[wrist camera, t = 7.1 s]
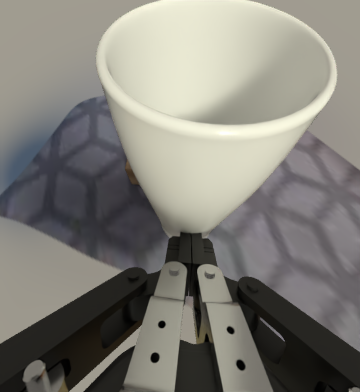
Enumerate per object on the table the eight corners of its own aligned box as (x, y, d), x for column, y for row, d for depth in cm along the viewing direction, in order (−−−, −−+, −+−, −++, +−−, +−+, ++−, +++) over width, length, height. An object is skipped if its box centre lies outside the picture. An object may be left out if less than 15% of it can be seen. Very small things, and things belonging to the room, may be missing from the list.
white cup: (182, 178, 21) (194, -23, 7) (233, 215, 19) (378, 39, 5) (139, 222, 18) (36, 48, 5) (192, 269, 17) (265, 200, 3)
